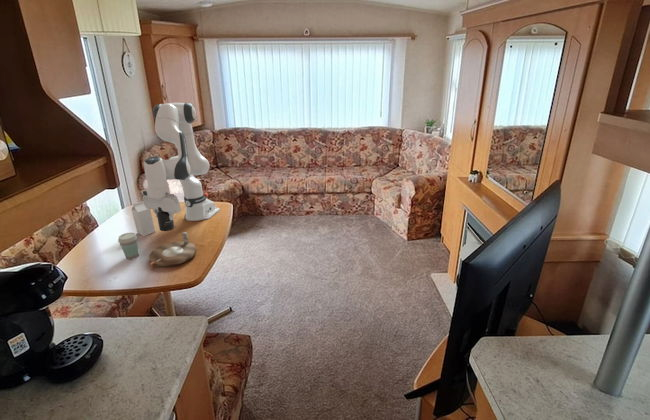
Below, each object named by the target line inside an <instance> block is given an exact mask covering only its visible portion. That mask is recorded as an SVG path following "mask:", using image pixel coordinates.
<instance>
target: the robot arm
mask: <svg viewBox="0 0 650 420" xmlns="http://www.w3.org/2000/svg"><path fill="white" fill-rule="evenodd" d="M152 116H153V118H154V120H155V121H154V122H155V123H154V131H155V134H156V135H157V137H159V139H161V140H162V141H164V142H167V143H169V144H170V143H171V144H174V146H175V148H176V149H177V155H175V156H171V157H170V158H169V159H162V157H160V156H156V155H155V156H150V157H147V158H145V159H144V162H143V167H144V169H143V170H144V175H145V179H146V181H147V188H145V189H143V190H141V191H140V192H141V195H142V201H144V205H145V207H146V208H149V209H150V210H152V211H153V213H154V214H155V217H156V218H157V212H158V207H160V208H162V211H164V212H169V214H170V216H169V217H168V218H169V220H173V221H174V215H175V214H178V213H180V212H181V210H182V207H181V204H180V203H181V202H180V200H179V199H178V196H176V195H175V194H174V193H171V191H170V185H169V183H168V181H171V180H178V181H179V183H180V185H181V187H182V191H183V201H184V203H185V204H184V205H185V206H184V207H185V220H186V221H191V222H193V221H195V222H197V221H202V220H209V219H210V218H212V217H213V216H215V214H217V213H218V212H219V211H220V208H219V207H218V206H216V204H215V202H214V200H210V199H209V198H207V197H209V193H208V192H207V193H206V192H203V191H204V190H203V186H202V182H201V180H199V179H198V178H196V177H195V176H201V175H206V174H208V172H209V171H210V166H211V165H210V162H209V160H208V159H207V158H205V156H203V154H201V152H200V151H199V149H198V148H197V145H196V139H195V136H194V130H193V125H192V123H193V122H194V121H195V120H196V117H197V111H196V108H195V106H194V105H193V104H192V103H191V102H190V103H189V102H169V103H158V104H156V105H154V107H153V108H152Z"/></svg>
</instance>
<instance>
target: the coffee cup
mask: <svg viewBox="0 0 650 420" xmlns="http://www.w3.org/2000/svg"><path fill="white" fill-rule="evenodd" d="M117 241H118V243H119V244H120V247H121V249H122V252H123V254H124V257H125V259H126V260H135V259H137V258H138V257H139V256H140V255H139V246H138V236H137V235H136V233H134V232H125V233H122V234H121V235H119V236H118V239H117Z"/></svg>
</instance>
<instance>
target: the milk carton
mask: <svg viewBox="0 0 650 420" xmlns="http://www.w3.org/2000/svg"><path fill="white" fill-rule="evenodd" d="M151 210H152V209H149V208H146V207H145V205H144V201H143V200H142V201H139V202H136V203H135V202H134V203H133V204H132V208H131V212H132V216H133V220H134V226H135V229H136V232H137V234H139V235H141V236H143V237H145V236H147V235H150V234H153V233H155V232H156V229H155V224H154V221H153V214H152V212H151Z"/></svg>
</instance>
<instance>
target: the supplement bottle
mask: <svg viewBox="0 0 650 420" xmlns="http://www.w3.org/2000/svg"><path fill="white" fill-rule="evenodd" d="M169 216H170V214H169V212H164V211H162V208H160V207H158V212H157V217H156V218H157V222H158V228H159V231H161V232H169V231H172V230H174V229H175V222H174V219H173V220H169V218H168V217H169Z"/></svg>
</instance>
